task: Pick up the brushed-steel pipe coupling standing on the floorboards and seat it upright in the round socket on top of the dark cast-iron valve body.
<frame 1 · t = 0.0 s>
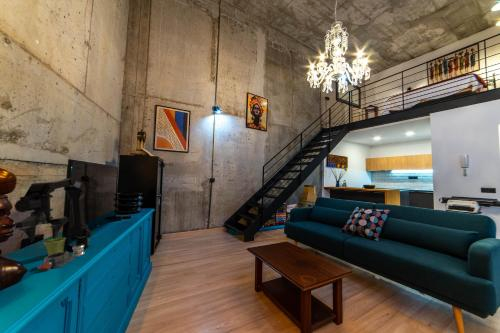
hand: (43, 239, 97), 15 cm above the table, fingers open, 9 cm apart
valve body: (57, 263, 103), on the table
plant pot: (56, 255, 115), on the table
coupling: (78, 254, 114), on the table
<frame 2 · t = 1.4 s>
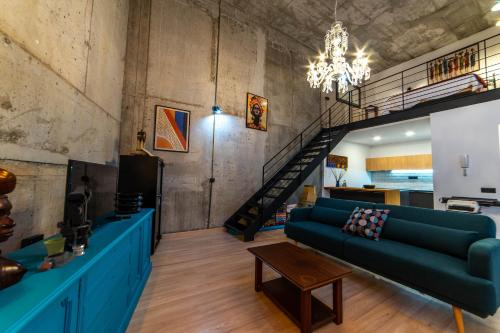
hand: (78, 241, 114), 7 cm above the table, fingers open, 9 cm apart
nothing on the table moved.
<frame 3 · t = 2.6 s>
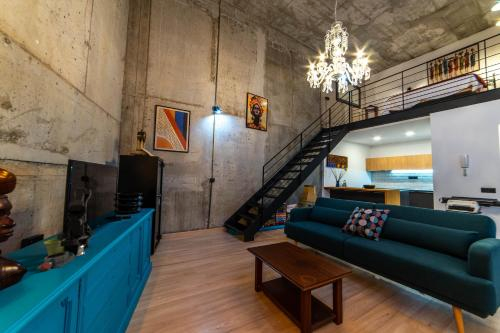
hand: (78, 253, 114), 1 cm above the table, fingers closed on coupling, 5 cm apart
coupling: (78, 254, 114), on the table, touching gripper
everything else where it was.
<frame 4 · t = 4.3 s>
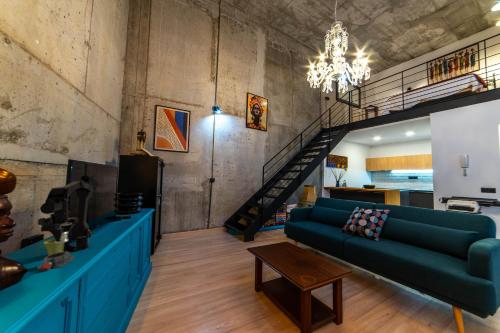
hand: (61, 240, 105), 11 cm above the table, fingers closed on coupling, 5 cm apart
coupling: (61, 242, 105), point 10 cm above the table, touching gripper
everything else where it was.
when the fingers open (5 cm above the table, at t = 6.3 s): coupling drops 2 cm, resting on valve body.
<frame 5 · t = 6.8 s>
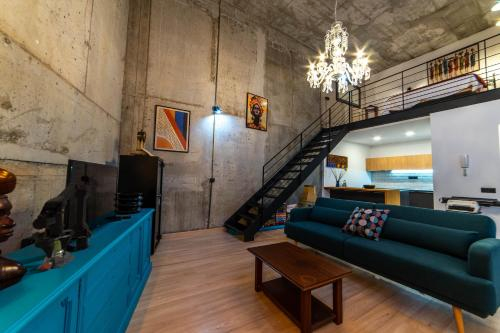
hand: (56, 254, 103), 5 cm above the table, fingers open, 9 cm apart
coupling: (57, 260, 103), point 2 cm above the table, touching valve body
everything else where it was.
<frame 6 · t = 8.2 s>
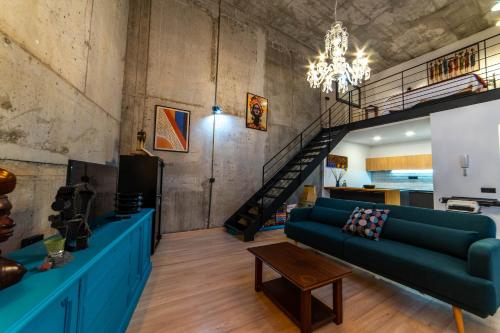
hand: (70, 235, 112), 12 cm above the table, fingers open, 9 cm apart
nothing on the table moved.
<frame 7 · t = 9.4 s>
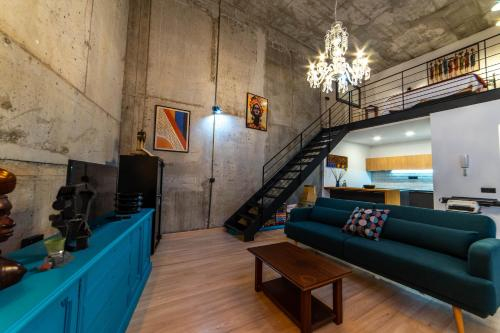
hand: (70, 235, 112), 12 cm above the table, fingers open, 9 cm apart
nothing on the table moved.
at the end: coupling 0.1 cm off-centre on the valve body, point 1.6 cm above the valve body's base; coupling tilted 2°; the gripper is holding nothing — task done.
